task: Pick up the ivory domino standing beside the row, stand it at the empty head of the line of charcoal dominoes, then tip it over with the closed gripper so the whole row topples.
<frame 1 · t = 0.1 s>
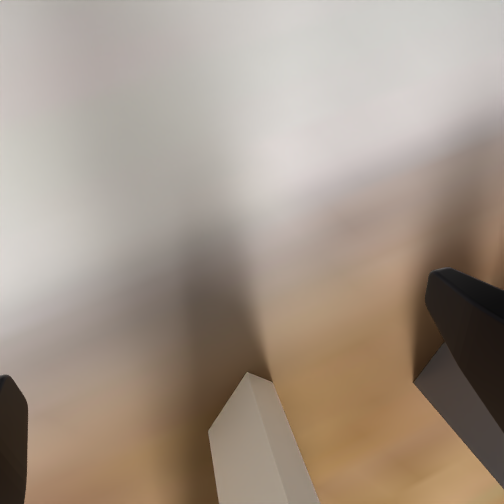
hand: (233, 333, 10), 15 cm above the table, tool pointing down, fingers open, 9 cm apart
domino head: (240, 406, 30), on the table
domino 2: (444, 359, 32), on the table
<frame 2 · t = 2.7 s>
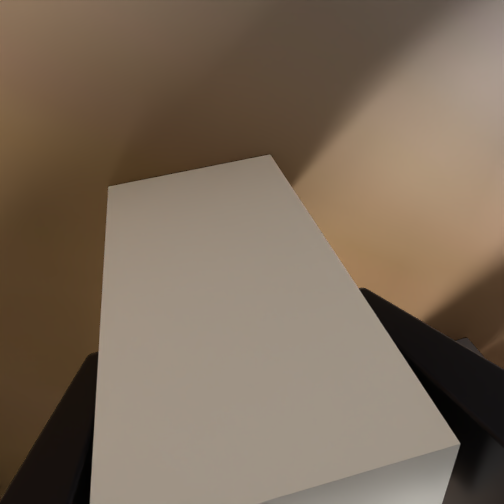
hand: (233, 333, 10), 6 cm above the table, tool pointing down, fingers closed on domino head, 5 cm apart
domino head: (196, 198, 14), on the table, touching gripper
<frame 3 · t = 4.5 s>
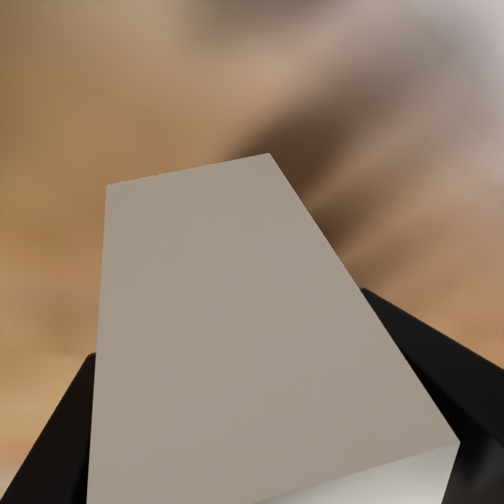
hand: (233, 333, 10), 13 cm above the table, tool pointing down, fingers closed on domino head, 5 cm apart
domino head: (195, 197, 14), point 7 cm above the table, touching gripper
when the fingers open (7 cm above the table, at t = 6.8 s): domino head stays where it is, on the table.
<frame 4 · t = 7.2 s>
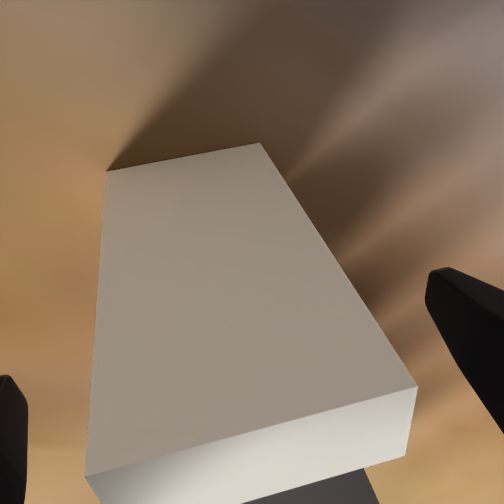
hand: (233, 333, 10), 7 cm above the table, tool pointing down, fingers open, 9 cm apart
domino head: (190, 184, 15), on the table
domino 2: (218, 304, 18), on the table
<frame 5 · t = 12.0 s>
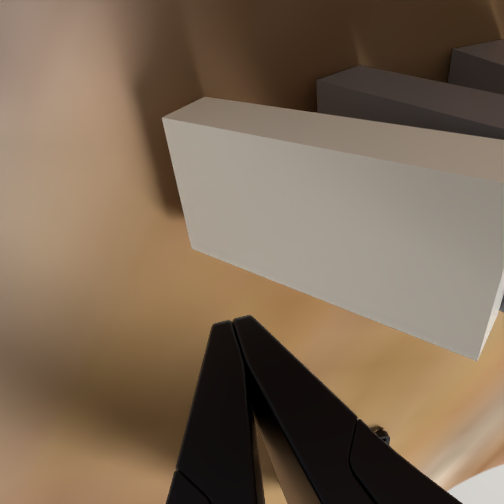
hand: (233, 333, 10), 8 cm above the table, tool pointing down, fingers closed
domino head: (197, 176, 16), point 1 cm above the table, tilted 40°
domino 2: (338, 142, 17), on the table, tilted 22°
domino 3: (465, 112, 18), on the table
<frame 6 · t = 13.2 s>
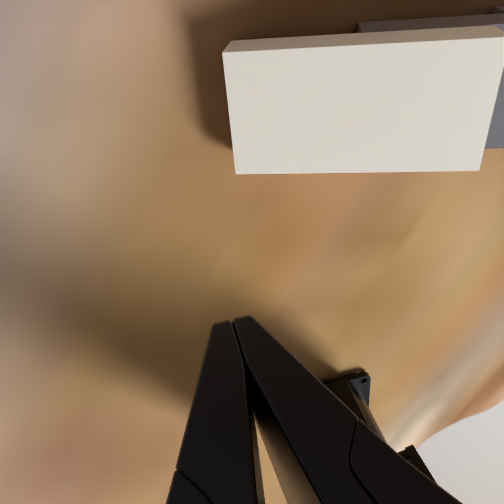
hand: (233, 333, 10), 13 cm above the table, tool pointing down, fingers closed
domino head: (233, 109, 19), point 1 cm above the table, tilted 69°, touching domino 2
domino 2: (356, 89, 20), point 1 cm above the table, tilted 71°, touching domino head
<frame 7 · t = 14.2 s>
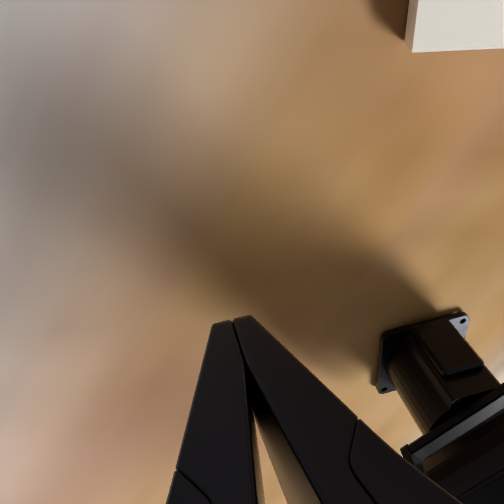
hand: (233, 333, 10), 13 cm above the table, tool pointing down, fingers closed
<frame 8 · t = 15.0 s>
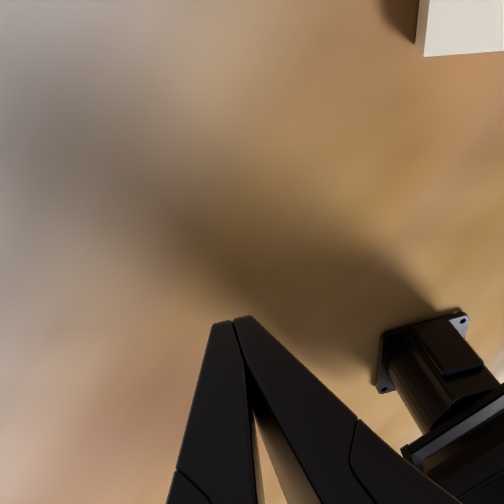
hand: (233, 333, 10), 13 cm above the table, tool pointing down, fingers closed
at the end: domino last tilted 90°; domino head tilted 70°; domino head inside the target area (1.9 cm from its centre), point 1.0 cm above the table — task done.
